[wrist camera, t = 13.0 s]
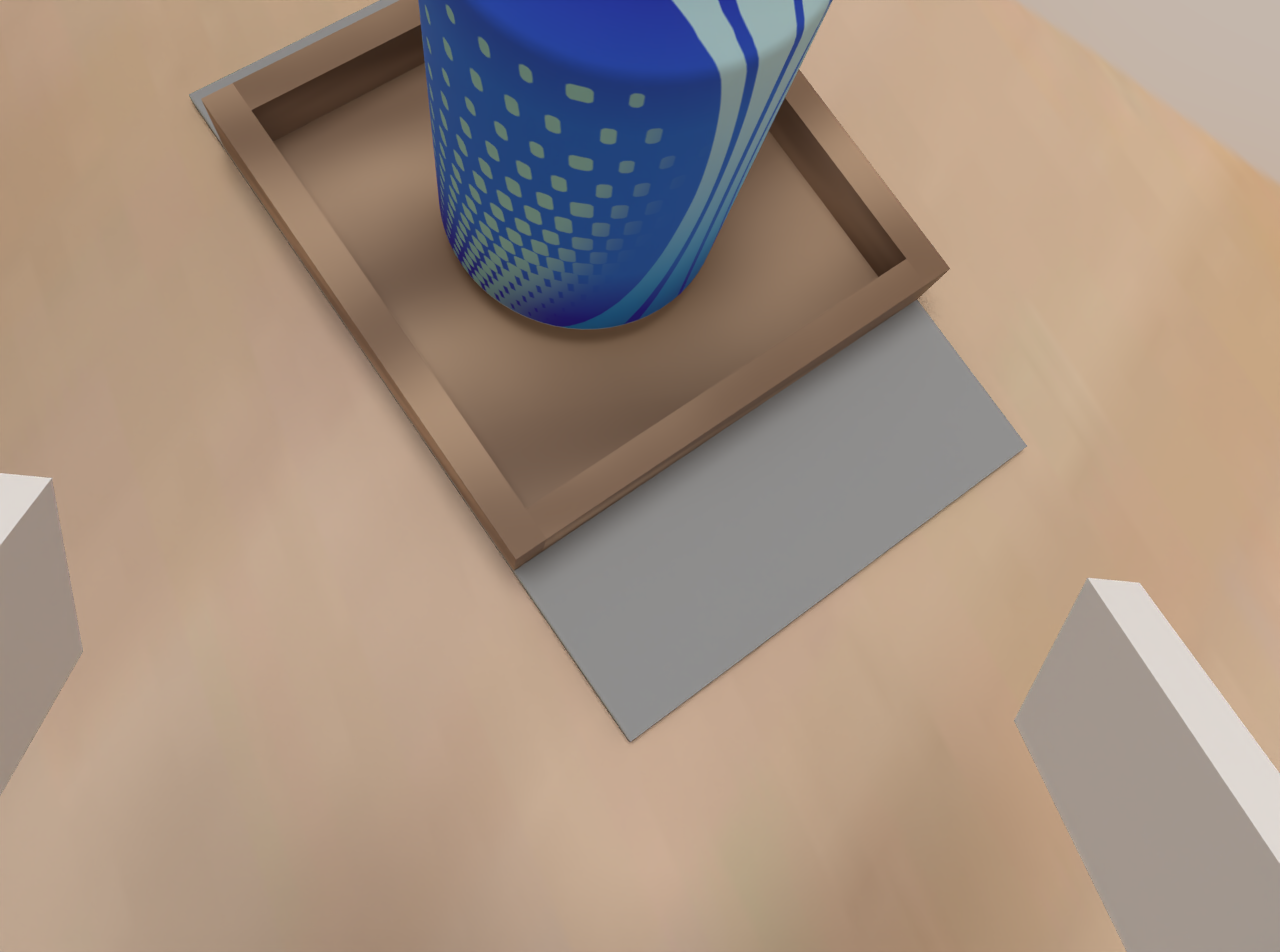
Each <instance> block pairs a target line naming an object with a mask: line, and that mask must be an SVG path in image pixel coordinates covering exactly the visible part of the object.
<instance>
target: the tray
mask: <svg viewBox="0 0 1280 952" xmlns="http://www.w3.org/2000/svg"><path fill="white" fill-rule="evenodd" d="M201 100H202V102H203V104H204V106H205V108H206V110H207V113H208V115H209V117H210V119H211V121H212V123H213V125H214V127H215V129H216V131H217V133H218V135H219V137H220V140H221V142H222V144H223V146H224V147H225V149H226V150H227V151H228V153H229V154H230V156H231V157H232V159H233V160H234V162H235V163H236V165H237V166H238V168H239V169H240V171H241V172H242V173H243V175H244V176H245V178H246V179H247V181H248V182H249V184H250V185H251V187H252V188H253V190H254V191H255V192H256V194H257V195H258V197H259V198H260V200H261V201H262V203H263V204H264V206H265V207H266V209H267V210H268V212H269V213H270V214H271V216H272V217H273V219H274V220H275V222H276V223H277V225H278V226H279V228H280V229H281V231H282V232H283V233H284V235H285V236H286V238H287V239H288V241H289V242H290V244H291V245H292V247H293V248H294V250H295V251H296V253H297V254H298V255H299V257H300V258H301V260H302V261H303V263H304V264H305V266H306V267H307V269H308V270H309V272H310V273H311V274H312V276H313V277H314V279H315V280H316V282H317V283H318V285H319V286H320V288H321V289H322V291H323V292H324V294H325V295H326V296H327V298H328V299H329V301H330V302H331V304H332V305H333V307H334V308H335V310H336V311H337V313H338V314H339V315H340V317H341V318H342V320H343V321H344V323H345V324H346V326H347V327H348V329H349V330H350V332H351V333H352V335H353V336H354V337H355V339H356V340H357V342H358V343H359V345H360V346H361V348H362V349H363V351H364V352H365V354H366V355H367V356H368V358H369V359H370V361H371V362H372V364H373V365H374V367H375V368H376V370H377V371H378V373H379V374H380V376H381V377H382V378H383V380H384V381H385V383H386V384H387V386H388V387H389V389H390V390H391V392H392V393H393V395H394V396H395V398H396V399H397V400H398V402H399V403H400V405H401V406H402V408H403V409H404V411H405V412H406V414H407V415H408V417H409V418H410V419H411V421H412V422H413V424H414V425H415V427H416V428H417V430H418V431H419V433H420V434H421V436H422V437H423V439H424V440H425V441H426V443H427V444H428V446H429V447H430V449H431V450H432V452H433V453H434V455H435V456H436V458H437V459H438V460H439V462H440V463H441V465H442V466H443V468H444V469H445V471H446V472H447V474H448V475H449V477H450V478H451V480H452V481H453V482H454V484H455V485H456V487H457V488H458V490H459V491H460V493H461V494H462V496H463V497H464V499H465V500H466V501H467V503H468V504H469V506H470V507H471V509H472V510H473V512H474V513H475V515H476V516H477V518H478V519H479V521H480V522H481V523H482V525H483V526H484V528H485V529H486V531H487V532H488V534H489V535H490V537H491V538H492V540H493V541H494V542H495V544H496V545H497V547H498V548H499V550H500V551H501V553H502V554H503V556H504V557H505V559H506V560H507V562H508V563H509V564H510V566H511V567H512V569H513V570H516V569H517V568H519V567H520V566H522V565H523V564H525V563H526V562H528V561H529V560H531V559H532V558H534V557H535V556H537V555H538V554H540V553H541V552H543V551H544V550H546V549H547V548H549V547H550V546H552V545H553V544H555V543H556V542H557V541H559V540H560V539H562V538H563V537H565V536H566V535H568V534H569V533H571V532H572V531H574V530H575V529H577V528H578V527H580V526H581V525H583V524H584V523H586V522H587V521H589V520H590V519H592V518H593V517H595V516H596V515H598V514H599V513H601V512H602V511H604V510H605V509H606V508H608V507H609V506H611V505H612V504H614V503H615V502H617V501H618V500H620V499H621V498H623V497H624V496H626V495H627V494H629V493H630V492H632V491H633V490H635V489H636V488H638V487H639V486H641V485H642V484H644V483H645V482H647V481H648V480H650V479H651V478H653V477H654V476H656V475H657V474H658V473H660V472H661V471H663V470H664V469H666V468H667V467H669V466H670V465H672V464H673V463H675V462H676V461H678V460H679V459H681V458H682V457H684V456H685V455H687V454H688V453H690V452H691V451H693V450H694V449H696V448H697V447H699V446H700V445H702V444H703V443H705V442H706V441H708V440H709V439H710V438H712V437H713V436H715V435H716V434H718V433H719V432H721V431H722V430H724V429H725V428H727V427H728V426H730V425H731V424H733V423H734V422H736V421H737V420H739V419H740V418H742V417H743V416H745V415H746V414H748V413H749V412H751V411H752V410H754V409H755V408H757V407H758V406H759V405H761V404H762V403H764V402H765V401H767V400H768V399H770V398H771V397H773V396H774V395H776V394H777V393H779V392H780V391H782V390H783V389H785V388H786V387H788V386H789V385H791V384H792V383H794V382H795V381H797V380H798V379H800V378H801V377H803V376H804V375H806V374H807V373H809V372H810V371H811V370H813V369H814V368H816V367H817V366H819V365H820V364H822V363H823V362H825V361H826V360H828V359H829V358H831V357H832V356H834V355H835V354H837V353H838V352H840V351H841V350H843V349H844V348H846V347H847V346H849V345H850V344H852V343H853V342H855V341H856V340H858V339H859V338H860V337H862V336H863V335H865V334H866V333H868V332H869V331H871V330H872V329H874V328H875V327H877V326H878V325H880V324H881V323H883V322H884V321H886V320H887V319H889V318H890V317H892V316H893V315H895V314H896V313H898V312H899V311H901V310H902V309H904V308H905V307H907V306H908V305H910V304H911V303H912V302H914V301H915V300H917V299H918V298H919V297H920V296H921V295H922V294H923V293H924V292H925V291H927V290H928V289H929V288H930V287H931V286H932V285H933V284H934V283H935V282H936V281H937V280H938V279H939V278H940V277H942V276H943V275H944V274H945V273H946V272H947V271H948V270H949V269H950V268H949V267H948V265H947V264H946V263H945V261H944V260H943V259H942V257H941V256H940V255H939V253H938V252H937V251H936V249H935V248H934V247H933V245H932V244H931V243H930V241H929V240H928V239H927V238H926V236H925V235H924V234H923V232H922V231H921V230H920V228H919V227H918V226H917V224H916V223H915V222H914V220H913V219H912V218H911V216H910V215H909V214H908V212H907V211H906V210H905V209H904V207H903V206H902V205H901V203H900V202H899V201H898V199H897V198H896V197H895V195H894V194H893V193H892V191H891V190H890V189H889V187H888V186H887V185H886V183H885V182H884V181H883V179H882V178H881V177H880V176H879V174H878V173H877V172H876V170H875V169H874V168H873V166H872V165H871V164H870V162H869V161H868V160H867V158H866V157H865V156H864V154H863V153H862V152H861V150H860V149H859V148H858V146H857V145H856V144H855V143H854V141H853V140H852V139H851V137H850V136H849V135H848V133H847V132H846V131H845V129H844V128H843V127H842V125H841V124H840V123H839V121H838V120H837V119H836V117H835V116H834V115H833V114H832V112H831V111H830V110H829V108H828V107H827V106H826V104H825V103H824V102H823V100H822V99H821V98H820V96H819V95H818V94H817V92H816V91H815V90H814V88H813V87H812V86H811V84H810V83H809V82H808V81H807V79H806V78H805V77H804V75H803V74H802V73H801V71H800V70H798V72H797V74H796V76H795V78H794V80H793V82H792V84H791V86H790V88H789V90H788V92H787V94H786V96H785V98H784V101H783V103H782V105H781V107H780V109H779V111H778V113H777V115H776V117H775V119H774V121H773V123H772V125H771V127H770V129H769V131H768V133H767V135H766V137H765V139H764V141H763V143H762V145H761V148H760V150H759V152H758V154H757V156H756V158H755V160H754V162H753V164H752V166H751V168H750V170H749V172H748V174H747V176H746V178H745V180H744V182H743V184H742V186H741V188H740V190H739V192H738V195H737V197H736V199H735V201H734V203H733V205H732V207H731V209H730V211H729V213H728V215H727V217H726V219H725V221H724V223H723V225H722V227H721V229H720V231H719V233H718V235H717V237H716V240H715V242H714V244H713V246H712V248H711V250H710V252H709V254H708V256H707V258H706V260H705V262H704V264H703V265H702V267H701V269H700V270H699V272H698V274H697V275H696V276H695V278H694V279H693V280H692V282H691V283H690V284H689V285H688V286H687V287H686V288H685V289H684V290H683V292H682V293H681V294H679V295H678V296H677V297H676V298H675V299H673V300H672V301H671V302H670V303H668V304H667V305H666V306H664V307H663V308H661V309H660V310H658V311H656V312H654V313H652V314H651V315H649V316H647V317H644V318H642V319H640V320H637V321H635V322H631V323H628V324H625V325H621V326H616V327H612V328H604V329H592V330H580V329H567V328H561V327H556V326H551V325H548V324H544V323H540V322H537V321H535V320H532V319H529V318H527V317H525V316H522V315H520V314H518V313H516V312H514V311H512V310H511V309H509V308H507V307H506V306H504V305H502V304H501V303H500V302H498V301H497V300H495V299H494V298H493V297H491V296H490V295H489V294H488V293H487V292H486V291H484V290H483V289H482V288H481V287H480V286H479V285H478V284H477V283H476V282H475V281H474V280H473V279H472V277H471V276H470V275H469V274H468V272H467V271H466V270H465V268H464V267H463V266H462V264H461V263H460V261H459V259H458V258H457V256H456V255H455V253H454V251H453V249H452V247H451V245H450V243H449V240H448V238H447V235H446V232H445V229H444V226H443V222H442V218H441V212H440V205H439V196H438V187H437V177H436V167H435V158H434V148H433V138H432V128H431V119H430V109H429V99H428V90H427V80H426V70H425V61H424V51H423V41H422V31H421V22H420V12H419V2H418V0H399V1H397V2H395V3H393V4H391V5H389V6H387V7H385V8H383V9H381V10H379V11H377V12H375V13H373V14H371V15H369V16H367V17H365V18H363V19H361V20H359V21H357V22H355V23H353V24H351V25H349V26H347V27H345V28H343V29H340V30H338V31H336V32H334V33H332V34H330V35H328V36H326V37H324V38H322V39H320V40H318V41H316V42H314V43H312V44H310V45H308V46H306V47H304V48H302V49H300V50H298V51H296V52H294V53H292V54H290V55H288V56H286V57H284V58H282V59H280V60H278V61H276V62H274V63H272V64H270V65H268V66H266V67H264V68H262V69H260V70H258V71H256V72H254V73H252V74H250V75H248V76H246V77H244V78H242V79H240V80H238V81H236V82H234V83H232V84H230V85H228V86H226V87H224V88H222V89H220V90H218V91H216V92H214V93H212V94H210V95H208V96H206V97H204V98H202V99H201Z"/></svg>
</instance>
